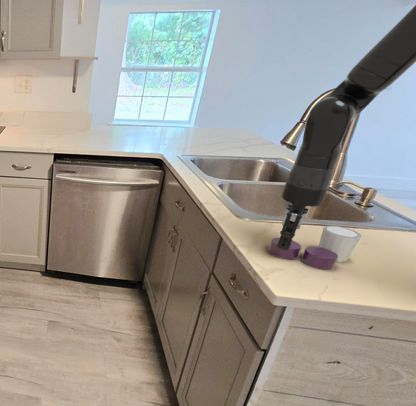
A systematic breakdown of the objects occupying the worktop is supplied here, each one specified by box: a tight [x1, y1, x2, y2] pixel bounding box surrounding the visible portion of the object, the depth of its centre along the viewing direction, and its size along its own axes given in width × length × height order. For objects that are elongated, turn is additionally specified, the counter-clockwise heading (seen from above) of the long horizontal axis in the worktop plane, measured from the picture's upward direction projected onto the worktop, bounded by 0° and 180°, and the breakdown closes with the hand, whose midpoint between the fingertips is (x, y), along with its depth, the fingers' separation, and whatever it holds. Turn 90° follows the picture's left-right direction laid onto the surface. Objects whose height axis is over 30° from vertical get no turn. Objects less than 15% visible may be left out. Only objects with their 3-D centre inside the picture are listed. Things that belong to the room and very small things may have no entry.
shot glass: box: [318, 225, 362, 263], centre depth 90 cm, size 7×7×7 cm
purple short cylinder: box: [300, 245, 338, 271], centre depth 89 cm, size 6×6×3 cm
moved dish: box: [267, 237, 302, 260], centre depth 93 cm, size 6×6×3 cm
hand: (285, 242), depth 93 cm, fingers open, 8 cm apart
